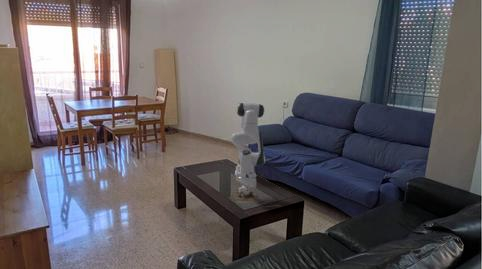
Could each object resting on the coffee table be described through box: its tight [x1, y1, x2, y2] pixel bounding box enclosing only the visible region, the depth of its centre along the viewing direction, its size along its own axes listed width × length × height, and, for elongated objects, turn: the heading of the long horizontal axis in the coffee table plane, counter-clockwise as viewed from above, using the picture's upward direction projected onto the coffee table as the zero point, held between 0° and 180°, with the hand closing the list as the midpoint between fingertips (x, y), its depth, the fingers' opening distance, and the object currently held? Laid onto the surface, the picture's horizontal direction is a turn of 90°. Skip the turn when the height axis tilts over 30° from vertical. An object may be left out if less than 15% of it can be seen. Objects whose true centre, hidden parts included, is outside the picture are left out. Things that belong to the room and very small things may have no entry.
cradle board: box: [232, 188, 260, 204], centre depth 249 cm, size 22×16×3 cm
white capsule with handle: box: [238, 184, 250, 196], centre depth 250 cm, size 10×6×7 cm, turn 126°
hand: (245, 190), depth 251 cm, fingers closed on white capsule with handle, 6 cm apart
